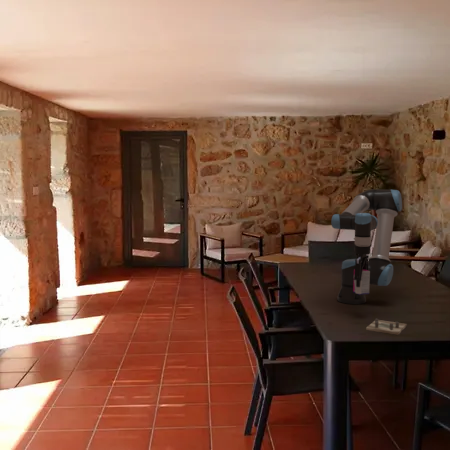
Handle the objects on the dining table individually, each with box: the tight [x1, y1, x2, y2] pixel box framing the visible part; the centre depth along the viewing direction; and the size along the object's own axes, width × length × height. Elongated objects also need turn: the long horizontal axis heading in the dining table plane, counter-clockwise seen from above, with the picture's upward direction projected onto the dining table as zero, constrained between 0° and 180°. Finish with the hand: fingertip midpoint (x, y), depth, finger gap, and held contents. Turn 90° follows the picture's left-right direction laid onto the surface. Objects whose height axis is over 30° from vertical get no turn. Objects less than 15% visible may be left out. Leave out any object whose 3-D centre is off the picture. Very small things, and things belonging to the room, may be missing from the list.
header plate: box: [365, 318, 408, 336], centre depth 243 cm, size 16×14×4 cm
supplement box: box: [353, 269, 371, 295], centre depth 261 cm, size 6×6×12 cm
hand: (361, 291), depth 261 cm, fingers closed on supplement box, 8 cm apart
